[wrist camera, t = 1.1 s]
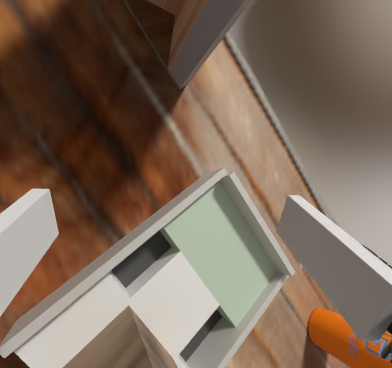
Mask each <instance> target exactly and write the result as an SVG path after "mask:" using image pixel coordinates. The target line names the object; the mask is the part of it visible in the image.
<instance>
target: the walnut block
mask: <svg viewBox="0 0 392 368" xmlns="http://www.w3.org/2000/svg"><path fill="white" fill-rule="evenodd" d="M63 368H178V367H177V365H176V363H175V362H174V360H173V358H172V356H171V355H170V354H169V353H168V352H167V350H166V349H165V348H164V347H163V346H162V344H161V343H160V342H159V341H158V340H157V338H156V337H155V336H154V335H153V334H152V332H151V331H150V330H149V329H148V328H147V326H146V325H145V324H144V323H143V321H142V320H141V319H140V318H139V317H138V315H137V314H136V313H135V312H134V311H133V309H132V308H131V307H130V306H129V305H128V306H127V307H126V308H125V309H124V310H123V311H122V312H121V313H120V314H119V315H118V316H117V317H116V318H115V319H114V320H112V321H111V322H110V323H109V324H108V325H107V326H106V327H105V328H104V329H103V330H102V331H101V332H100V333H99V334H98V335H97V336H96V337H95V338H93V339H92V340H91V341H90V342H89V343H88V344H87V345H86V346H85V347H84V348H83V349H82V350H81V351H80V352H79V353H78V354H77V355H76V356H75V357H73V358H72V359H71V360H70V361H69V362H68V363H67V364H66V365H65V366H64V367H63Z"/></svg>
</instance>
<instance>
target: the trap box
mask: <svg viewBox="0 0 392 368" xmlns="http://www.w3.org/2000/svg"><path fill="white" fill-rule="evenodd" d="M294 274H295V270H294V269H293V267H292V265H291V264H290V262H289V260H288V259H287V257H286V256H285V254H284V252H283V251H282V249H281V247H280V246H279V244H278V243H277V241H276V239H275V238H274V236H273V234H272V233H271V231H270V230H269V228H268V226H267V225H266V223H265V221H264V220H263V218H262V216H261V215H260V213H259V212H258V210H257V208H256V207H255V205H254V203H253V202H252V200H251V199H250V197H249V195H248V194H247V192H246V190H245V189H244V187H243V186H242V184H241V182H240V181H239V179H238V177H237V176H236V174H235V173H234V172H230V173H227V171H226V170H225V168H221V169H218V170H215V171H212V172H208V173H206V174H204V175H203V176H202V177H201V178H199V179H198V180H197V181H195V182H194V183H193V184H192V185H190V186H189V187H188V188H186V189H185V190H184V191H183V192H181V193H180V194H179V195H177V196H176V197H175V198H174V199H172V200H171V201H170V202H168V203H167V204H166V205H165V206H163V207H162V208H161V209H159V210H158V211H157V212H156V213H154V214H153V215H152V216H150V217H149V218H148V219H147V220H145V221H144V222H143V223H141V224H140V225H139V226H138V227H136V228H135V229H134V230H132V231H131V232H130V233H128V234H127V235H126V236H125V237H123V238H122V239H121V240H119V241H118V242H117V243H116V244H114V245H113V246H112V247H110V248H109V249H108V250H107V251H105V252H104V253H103V254H101V255H100V256H99V257H98V258H96V259H95V260H94V261H92V262H91V263H90V264H89V265H87V266H86V267H85V268H83V269H82V270H81V271H80V272H78V273H77V274H76V275H74V276H73V277H72V278H71V279H69V280H68V281H67V282H65V283H64V284H63V285H62V286H60V287H59V288H58V289H56V290H55V291H54V292H53V293H51V294H50V295H49V296H47V297H46V298H45V299H44V300H42V301H41V302H40V303H38V304H37V305H36V306H35V307H33V308H32V309H31V310H29V311H28V312H27V313H26V314H24V315H23V316H22V317H20V318H19V319H18V320H17V321H16V322H15V324H14V325H13V327H12V328H11V330H10V331H9V332H8V334H7V335H6V337H5V338H4V340H3V341H2V343H1V344H0V355H1V356H2V357H3V358H6V357H7V356H8V355H9V354H10V353H12V352H13V351H14V352H15V353H16V354H17V355H18V356H19V357H20V358H21V359H22V360H23V361H24V362H25V363H26V364H27V365H28V366H29V367H30V368H63V367H64V366H65V365H66V364H67V363H68V362H69V361H70V360H71V359H72V358H73V357H75V356H76V355H77V354H78V353H79V352H80V351H81V350H82V349H83V348H84V347H85V346H86V345H87V344H88V343H89V342H90V341H91V340H92V339H93V338H95V337H96V336H97V335H98V334H99V333H100V332H101V331H102V330H103V329H104V328H105V327H106V326H107V325H108V324H109V323H110V322H111V321H112V320H114V319H115V318H116V317H117V316H118V315H119V314H120V313H121V312H122V311H123V310H124V309H125V308H126V307H127V306H128V305H129V306H130V307H131V308H132V309H133V311H134V312H135V313H136V314H137V315H138V317H139V318H140V319H141V320H142V321H143V323H144V324H145V325H146V326H147V328H148V329H149V330H150V331H151V332H152V334H153V335H154V336H155V337H156V338H157V340H158V341H159V342H160V343H161V344H162V346H163V347H164V348H165V349H166V350H167V352H168V353H169V354H170V355H171V356H172V358H173V360H174V362H175V363H176V365H177V367H178V368H225V367H226V366H227V364H228V363H229V361H230V360H231V358H232V357H233V356H234V354H235V353H236V351H237V350H238V348H239V347H240V346H241V344H242V343H243V341H244V340H245V338H246V337H247V336H248V334H249V333H250V331H251V330H252V328H253V327H254V326H255V324H256V323H257V321H258V320H259V318H260V317H261V316H262V314H263V313H264V311H265V310H266V308H267V307H268V306H269V304H270V303H271V301H272V300H273V298H274V297H275V296H276V294H277V293H278V291H279V290H280V288H281V287H282V286H283V284H284V283H285V281H286V280H287V278H288V277H289V276H292V277H293V275H294Z"/></svg>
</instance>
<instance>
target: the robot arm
mask: <svg viewBox="0 0 392 368" xmlns="http://www.w3.org/2000/svg"><path fill="white" fill-rule="evenodd" d="M276 232H277V234H278V235H279V236H280V237H281V239H282V240H283V241H284V242H285V244H286V245H287V246H288V248H289V249H290V250H291V251H292V253H293V254H294V255H295V257H296V258H297V259H298V260H299V262H300V263H301V264H302V266H303V267H304V268H305V269H306V271H307V272H308V273H309V275H310V276H311V277H312V278H313V280H314V281H315V282H316V283H317V285H318V286H319V287H320V289H321V290H322V291H323V292H324V294H325V295H326V296H327V298H328V299H329V300H330V301H331V303H332V304H333V305H334V307H335V308H336V309H337V310H338V312H339V313H340V314H341V315H342V317H343V318H344V319H345V321H346V322H347V323H348V324H349V326H350V327H351V328H352V330H353V331H354V332H355V333H356V335H357V336H358V337H359V339H360V340H361V341H362V342H366V341H375V340H379V339H380V338H381V337H382V336H383V334H384V333H385V332H386V330H388V331H389V332H390V333H391V334H392V267H391V266H390V265H387V263H386V262H385V261H384V260H382V259H381V258H378V256H377V255H376V254H375V253H374V252H372V251H371V250H370V249H368V248H367V247H365V246H364V245H362V244H360V243H358V242H357V241H356V240H355V239H353V238H352V237H351V236H350V235H348V234H347V233H346V232H345V231H343V230H342V229H341V228H340V227H338V226H337V225H336V224H335V223H333V222H332V221H331V220H330V219H328V218H327V217H326V216H325V215H323V214H322V213H321V212H319V211H318V210H317V209H316V208H314V207H313V206H312V205H311V204H309V203H308V202H307V201H306V200H304V199H303V198H302V197H301V196H299V195H288V196H287V200H286V203H285V206H284V209H283V212H282V215H281V218H280V222H279V225H278V228H277V231H276ZM58 234H59V232H58V228H57V223H56V218H55V213H54V208H53V204H52V199H51V194H50V189H31V190H30V191H29V192H28V193H26V194H25V195H24V196H22V197H21V198H20V199H19V200H17V201H16V202H15V203H14V204H12V205H11V206H10V207H8V208H7V209H6V210H5V211H3V212H2V213H1V214H0V316H1V315H2V314H3V312H4V311H5V309H6V308H7V306H8V305H9V304H10V302H11V301H12V299H13V298H14V297H15V295H16V294H17V292H18V291H19V289H20V288H21V287H22V285H23V284H24V282H25V281H26V280H27V278H28V277H29V275H30V274H31V272H32V271H33V270H34V268H35V267H36V265H37V264H38V263H39V261H40V260H41V258H42V257H43V255H44V254H45V253H46V251H47V250H48V248H49V247H50V246H51V244H52V243H53V241H54V240H55V238H56V237H57V236H58ZM390 353H391V354H392V340H391V341H390V343H389V344H388V345H387V346H386V348H385V349H384V350H383V351H382V353H381V358H383V359H386V357H387V356H388V355H389V354H390ZM390 363H392V359H391V361H390Z"/></svg>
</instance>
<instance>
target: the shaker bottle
mask: <svg viewBox="0 0 392 368" xmlns="http://www.w3.org/2000/svg"><path fill="white" fill-rule="evenodd" d="M308 333H309V337H310V339H311V341H312V342H313V343H314V344H316V345H317V346H319V347H320V348H322V349H323V350H325V351H326V352H328V353H329V354H331V355H332V356H334V357H335V358H337V359H338V360H340V361H341V362H343V363H344V364H346V365H347V366H349V367H350V368H392V363H390V361H391V359H392V354H391V353H390V354H389V355H388V356H387V357H386V359H383V358H381V353H382V351H383V350H384V349H385V348H386V346H387V345H388V344H389V343H390V341H391V340H392V334H390V333H387V332H385V333H384V334H383V336H382V337H381V338H380V339H379V340H375V341H366V342H362V341H361V340H360V339H359V337H358V336H357V335H356V333H355V332H354V331H353V330H352V328H351V327H350V326H349V324H348V323H347V322H346V321H345V319H344V318H343V317H342V315H339V314H337V313H334V312H331V311H329V310H326V309H324V308H317V309H316V310H314V311H313V313H312V314H311V316H310V319H309V323H308Z"/></svg>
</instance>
